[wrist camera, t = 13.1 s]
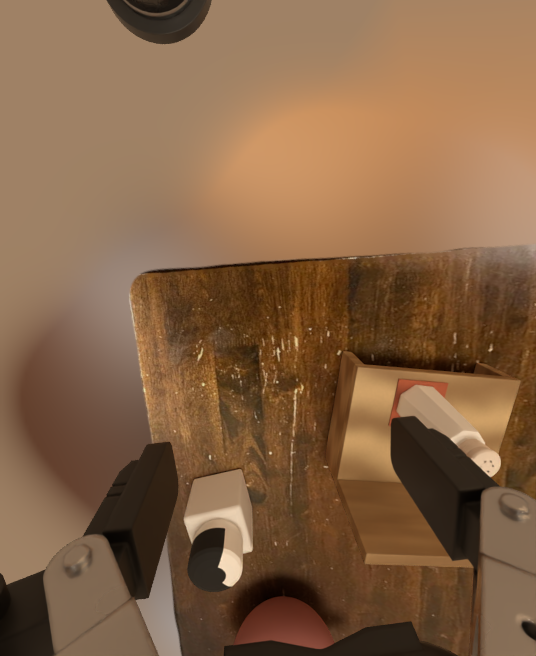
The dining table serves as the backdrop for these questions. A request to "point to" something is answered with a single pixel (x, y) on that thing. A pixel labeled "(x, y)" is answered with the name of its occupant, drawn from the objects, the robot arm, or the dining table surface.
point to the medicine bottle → (218, 530)
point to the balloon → (285, 624)
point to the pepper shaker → (448, 424)
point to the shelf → (375, 461)
